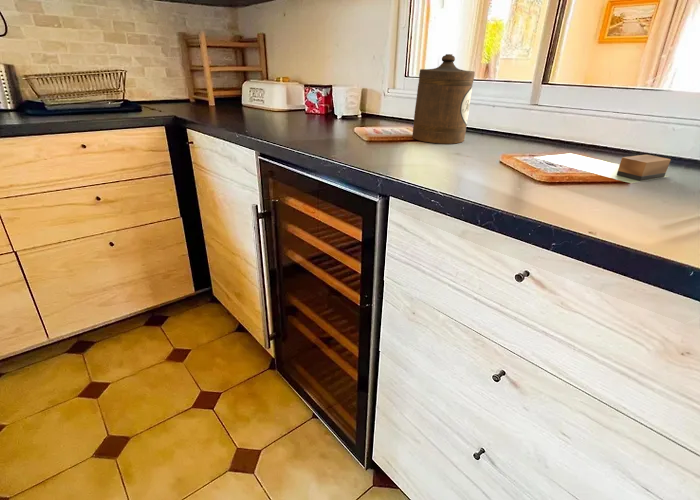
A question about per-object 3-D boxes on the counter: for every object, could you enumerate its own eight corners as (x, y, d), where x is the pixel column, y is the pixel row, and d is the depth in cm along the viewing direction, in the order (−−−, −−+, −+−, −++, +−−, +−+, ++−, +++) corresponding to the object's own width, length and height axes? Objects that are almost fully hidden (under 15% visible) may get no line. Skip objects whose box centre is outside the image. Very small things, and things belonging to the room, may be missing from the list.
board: (667, 182, 78) (669, 176, 78) (627, 189, 73) (630, 182, 73) (569, 158, 96) (570, 153, 96) (531, 162, 91) (532, 157, 90)
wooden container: (473, 144, 109) (487, 55, 100) (421, 144, 107) (431, 53, 97) (452, 134, 122) (463, 55, 113) (405, 134, 120) (413, 53, 110)
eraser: (664, 177, 77) (671, 159, 76) (639, 181, 74) (646, 162, 72) (640, 171, 81) (646, 154, 79) (616, 175, 77) (622, 157, 76)
